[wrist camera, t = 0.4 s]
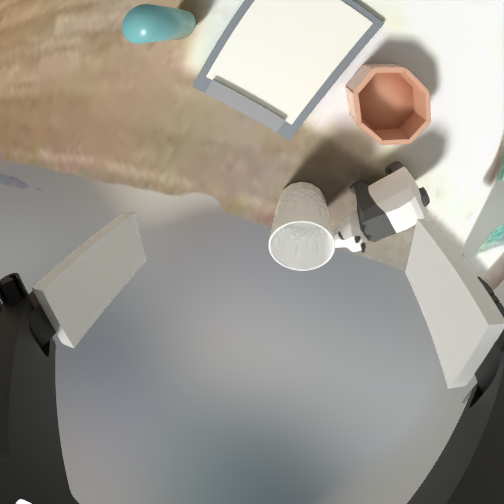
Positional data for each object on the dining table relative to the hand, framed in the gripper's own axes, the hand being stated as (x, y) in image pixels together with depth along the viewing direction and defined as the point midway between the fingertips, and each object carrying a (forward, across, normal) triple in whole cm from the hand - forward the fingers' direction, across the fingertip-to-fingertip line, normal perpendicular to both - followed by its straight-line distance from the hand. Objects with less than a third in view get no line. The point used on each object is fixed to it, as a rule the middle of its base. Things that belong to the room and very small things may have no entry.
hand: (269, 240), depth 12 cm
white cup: (+28, +1, -8) cm, 29 cm away
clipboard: (+23, 0, +13) cm, 26 cm away
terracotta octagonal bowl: (+24, +11, +8) cm, 28 cm away
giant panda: (+28, +11, -6) cm, 31 cm away
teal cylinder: (+22, -12, +18) cm, 30 cm away
